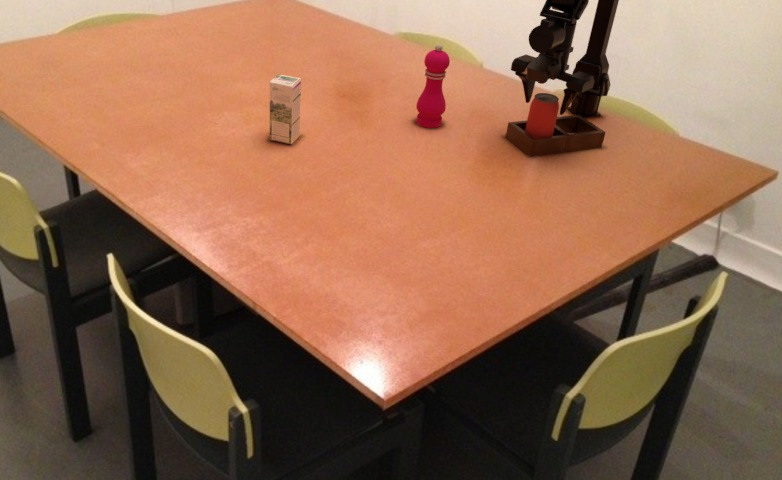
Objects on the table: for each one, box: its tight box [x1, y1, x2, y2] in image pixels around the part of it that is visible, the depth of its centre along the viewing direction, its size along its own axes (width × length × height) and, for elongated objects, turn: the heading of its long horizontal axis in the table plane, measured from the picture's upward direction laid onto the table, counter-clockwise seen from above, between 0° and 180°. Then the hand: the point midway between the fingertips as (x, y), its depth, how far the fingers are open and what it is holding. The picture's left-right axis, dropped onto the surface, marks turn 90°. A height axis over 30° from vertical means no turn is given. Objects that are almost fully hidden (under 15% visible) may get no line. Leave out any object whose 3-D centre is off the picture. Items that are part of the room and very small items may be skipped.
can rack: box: [505, 114, 607, 157], centre depth 187 cm, size 21×11×4 cm, turn 111°
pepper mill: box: [416, 43, 451, 129], centre depth 188 cm, size 7×7×20 cm
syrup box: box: [269, 73, 302, 145], centre depth 177 cm, size 6×6×14 cm
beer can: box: [525, 92, 560, 138], centre depth 183 cm, size 7×7×12 cm
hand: (544, 108), depth 181 cm, fingers open, 9 cm apart
